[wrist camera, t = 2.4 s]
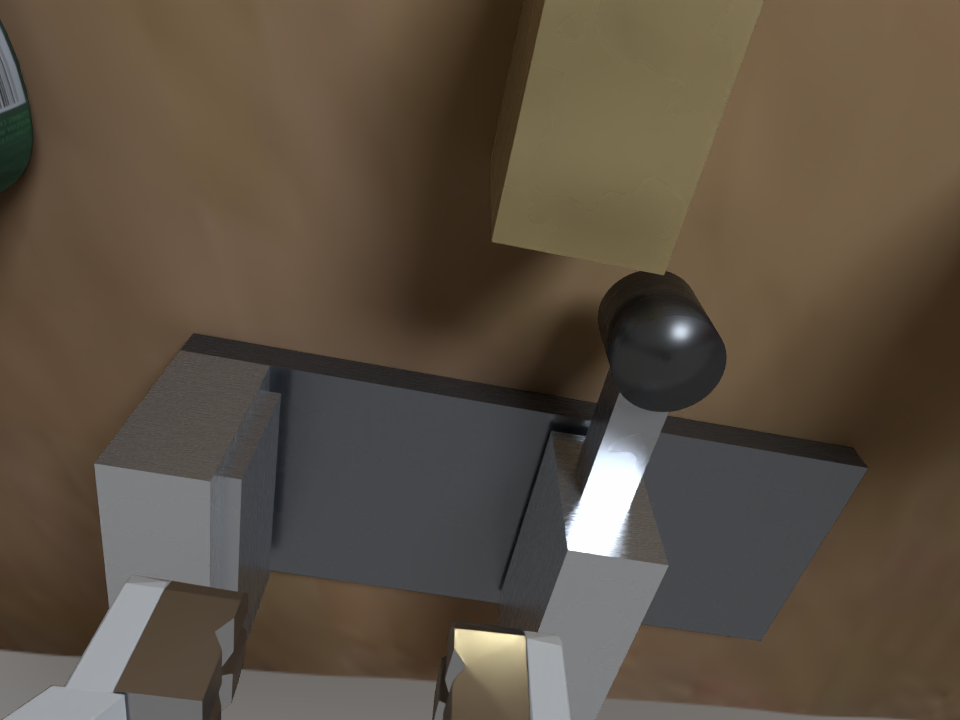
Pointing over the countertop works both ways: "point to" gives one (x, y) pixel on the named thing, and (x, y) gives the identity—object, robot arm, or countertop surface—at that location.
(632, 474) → the lever
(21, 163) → the coffee jar
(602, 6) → the brass block
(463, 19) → the countertop surface
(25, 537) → the countertop surface
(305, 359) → the vise bed
